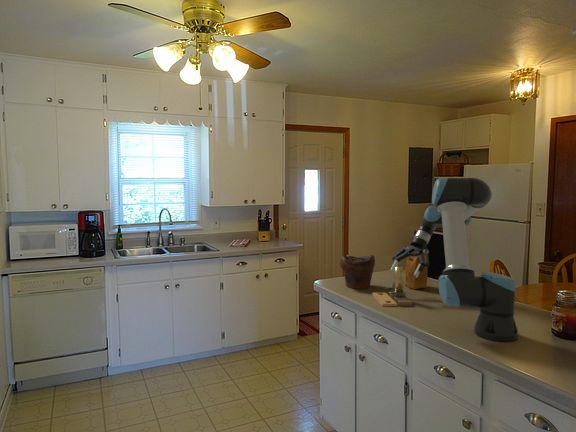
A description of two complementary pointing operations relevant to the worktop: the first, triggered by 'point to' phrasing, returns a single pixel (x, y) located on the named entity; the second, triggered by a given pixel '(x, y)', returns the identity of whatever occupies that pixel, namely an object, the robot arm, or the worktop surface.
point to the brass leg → (398, 282)
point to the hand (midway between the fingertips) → (403, 273)
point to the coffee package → (410, 270)
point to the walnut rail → (399, 298)
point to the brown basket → (358, 270)
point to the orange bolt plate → (384, 299)
